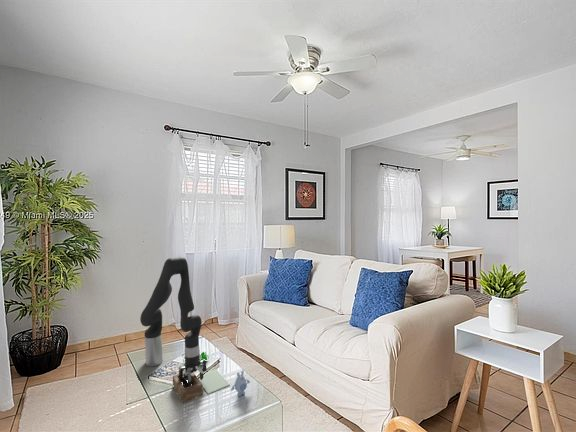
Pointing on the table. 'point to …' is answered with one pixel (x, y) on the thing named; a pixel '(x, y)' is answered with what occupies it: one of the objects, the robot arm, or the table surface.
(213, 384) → the mat
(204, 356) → the green lumpy cluster
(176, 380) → the brown wooden open box
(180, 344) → the table surface
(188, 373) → the post stand
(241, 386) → the toy figure
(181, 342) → the table surface
